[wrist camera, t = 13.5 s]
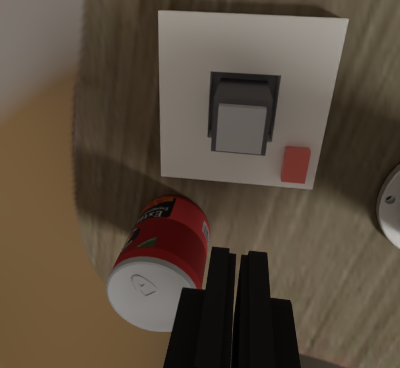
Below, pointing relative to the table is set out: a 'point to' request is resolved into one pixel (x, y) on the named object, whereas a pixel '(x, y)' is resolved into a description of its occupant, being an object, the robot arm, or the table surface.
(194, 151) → the socket plate
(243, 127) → the plug
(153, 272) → the canned food
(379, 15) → the table surface
